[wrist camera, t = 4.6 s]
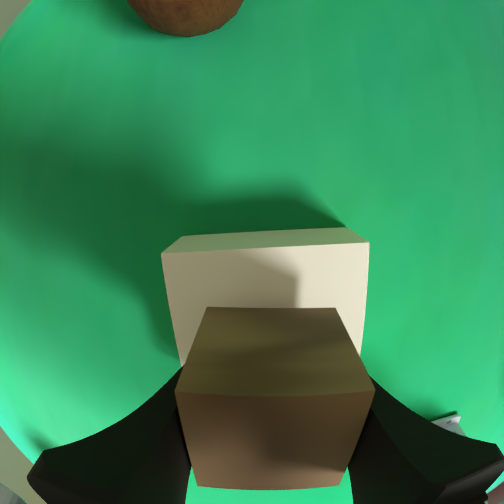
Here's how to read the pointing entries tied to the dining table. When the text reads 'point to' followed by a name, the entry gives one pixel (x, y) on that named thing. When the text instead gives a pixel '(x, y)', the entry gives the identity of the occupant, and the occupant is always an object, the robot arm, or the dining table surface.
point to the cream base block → (266, 276)
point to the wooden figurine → (186, 15)
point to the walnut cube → (272, 398)
